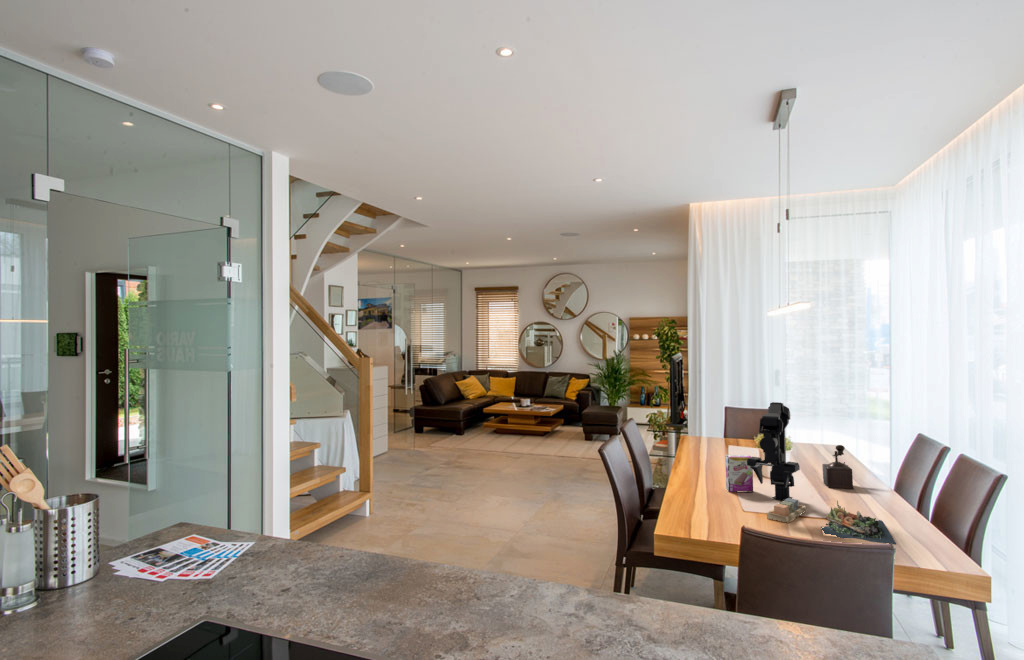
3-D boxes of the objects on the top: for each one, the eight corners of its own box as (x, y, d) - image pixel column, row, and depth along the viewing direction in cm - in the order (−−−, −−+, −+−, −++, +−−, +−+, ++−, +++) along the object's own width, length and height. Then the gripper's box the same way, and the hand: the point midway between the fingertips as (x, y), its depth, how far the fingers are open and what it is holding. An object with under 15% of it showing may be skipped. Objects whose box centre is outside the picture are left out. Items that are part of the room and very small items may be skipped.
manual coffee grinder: (855, 489, 250) (853, 450, 251) (828, 488, 253) (827, 449, 254) (845, 481, 265) (843, 444, 266) (819, 480, 268) (818, 443, 269)
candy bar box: (729, 492, 250) (727, 457, 251) (725, 489, 255) (724, 454, 256) (754, 492, 249) (752, 456, 250) (750, 489, 254) (749, 454, 255)
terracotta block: (774, 516, 213) (773, 506, 213) (778, 513, 216) (777, 503, 216) (784, 518, 210) (784, 508, 210) (788, 516, 213) (788, 505, 213)
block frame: (785, 507, 226) (784, 495, 226) (806, 511, 220) (805, 499, 221) (766, 518, 213) (766, 506, 213) (788, 523, 207) (787, 510, 207)
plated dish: (805, 511, 223) (805, 493, 223) (887, 519, 212) (886, 501, 212) (814, 541, 191) (814, 520, 191) (910, 553, 180) (910, 531, 180)
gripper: (803, 446, 217) (805, 485, 217) (756, 441, 231) (757, 477, 231) (793, 451, 210) (795, 491, 209) (745, 445, 223) (746, 483, 223)
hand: (773, 485), depth 218 cm, fingers open, 9 cm apart
